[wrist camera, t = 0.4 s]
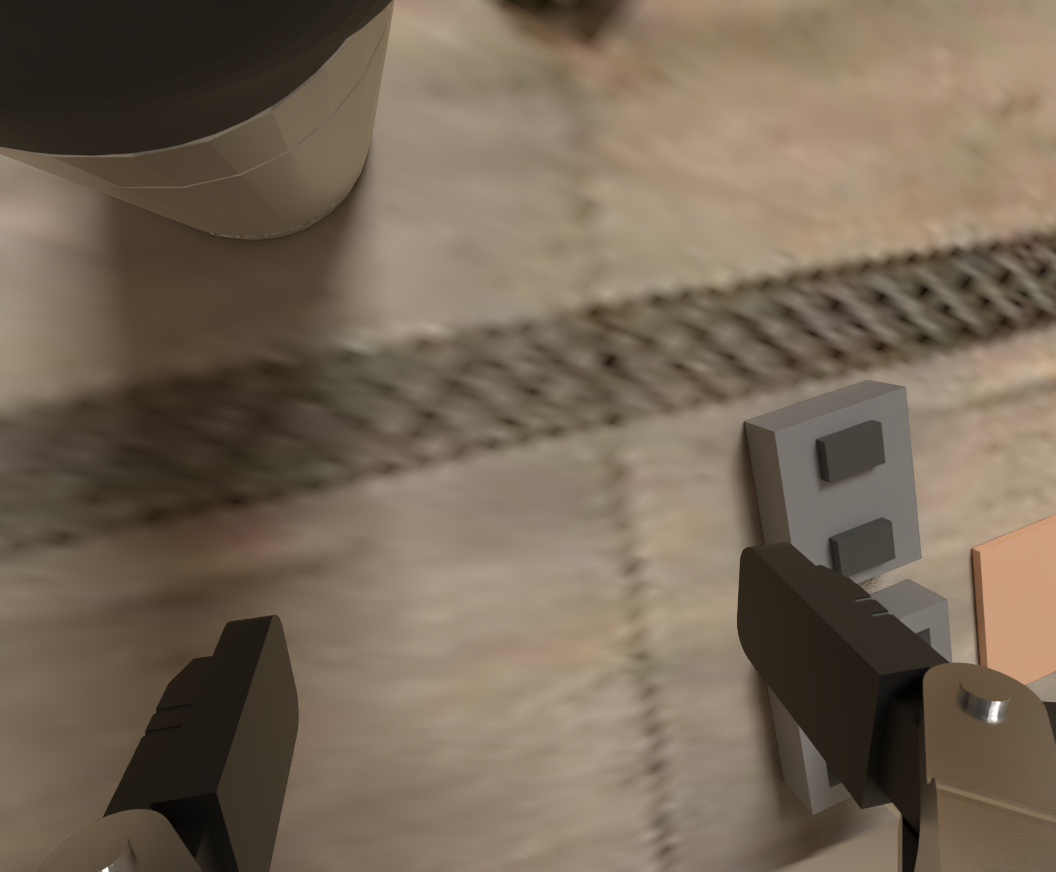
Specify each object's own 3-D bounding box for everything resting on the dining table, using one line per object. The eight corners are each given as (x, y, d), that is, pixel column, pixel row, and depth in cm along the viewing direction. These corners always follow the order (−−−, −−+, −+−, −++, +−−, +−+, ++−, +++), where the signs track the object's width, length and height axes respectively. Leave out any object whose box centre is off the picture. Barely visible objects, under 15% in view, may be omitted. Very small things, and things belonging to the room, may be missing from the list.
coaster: (972, 548, 38) (980, 551, 37) (1111, 492, 39) (1120, 494, 39) (982, 696, 40) (989, 701, 40) (1111, 637, 42) (1120, 641, 42)
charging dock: (722, 428, 32) (758, 442, 29) (888, 373, 34) (937, 381, 31) (783, 782, 38) (819, 822, 35) (922, 719, 39) (967, 752, 37)
